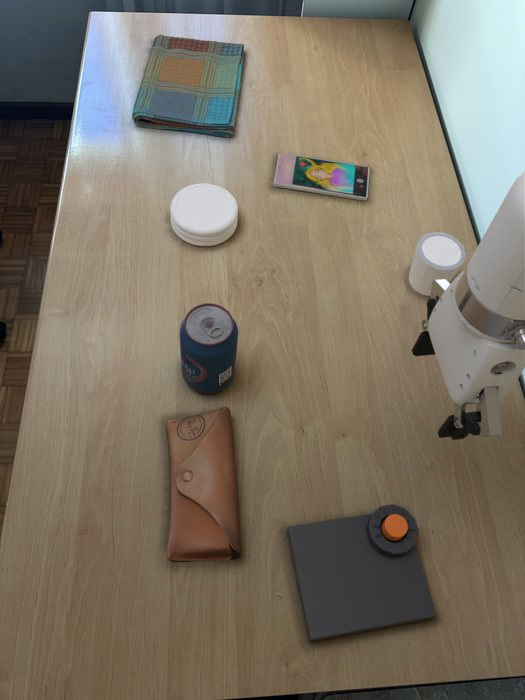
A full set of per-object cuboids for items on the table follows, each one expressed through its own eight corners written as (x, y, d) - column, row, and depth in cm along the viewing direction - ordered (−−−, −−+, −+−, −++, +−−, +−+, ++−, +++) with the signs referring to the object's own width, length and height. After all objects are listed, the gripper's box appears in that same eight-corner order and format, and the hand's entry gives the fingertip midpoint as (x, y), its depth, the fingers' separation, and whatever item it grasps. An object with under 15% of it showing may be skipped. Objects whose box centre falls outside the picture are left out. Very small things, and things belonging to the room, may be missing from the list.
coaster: (160, 237, 98) (159, 220, 95) (184, 191, 103) (184, 174, 100) (224, 255, 97) (225, 239, 94) (245, 208, 102) (246, 192, 99)
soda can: (171, 369, 87) (166, 318, 77) (213, 342, 89) (214, 289, 79) (203, 407, 84) (203, 359, 74) (245, 377, 87) (251, 328, 77)
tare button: (400, 516, 76) (404, 512, 74) (407, 539, 74) (410, 535, 73) (378, 520, 75) (382, 515, 74) (385, 542, 74) (388, 539, 73)
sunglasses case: (161, 417, 83) (188, 394, 78) (209, 426, 86) (238, 405, 82) (165, 565, 73) (196, 549, 69) (219, 567, 77) (251, 552, 73)
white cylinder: (399, 291, 96) (412, 260, 90) (409, 257, 100) (422, 225, 94) (445, 305, 96) (461, 276, 90) (454, 270, 99) (470, 239, 93)
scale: (402, 510, 79) (409, 501, 76) (433, 618, 73) (443, 612, 70) (285, 529, 77) (289, 520, 74) (308, 642, 71) (312, 637, 68)
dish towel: (130, 127, 110) (128, 115, 108) (153, 41, 122) (152, 28, 120) (233, 139, 110) (234, 127, 108) (246, 52, 122) (247, 39, 120)
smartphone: (367, 198, 104) (273, 183, 104) (366, 201, 105) (272, 187, 105) (369, 166, 108) (278, 152, 108) (368, 170, 109) (278, 155, 109)
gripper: (584, 382, 52) (498, 464, 66) (508, 216, 60) (447, 321, 75) (495, 391, 50) (427, 473, 65) (430, 221, 59) (383, 326, 74)
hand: (438, 391), depth 70 cm, fingers open, 9 cm apart
